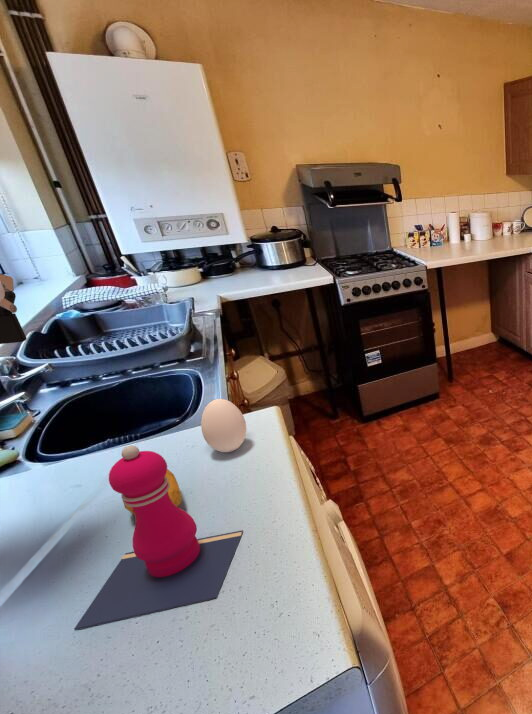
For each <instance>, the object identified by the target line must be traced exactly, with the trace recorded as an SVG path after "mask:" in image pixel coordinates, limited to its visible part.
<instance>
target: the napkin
mask: <svg viewBox="0 0 532 714" xmlns="http://www.w3.org/2000/svg"><path fill="white" fill-rule="evenodd" d="M243 533H244V530H243V529H241V530H237V531H236V530H235V531H231V532H226V533H221V534H217V535H210V536H207V537H201V538H197V540H198V543H199V545H200V552H199V554H198V556H197V558H196V559H195V560H194V561H193V562H192V563H191V564H190V565H189V566H187V567H186V568H185V569H183V570H181V571H179V572H178V573H175V574H173V575H170V576H166V577H154V576H152V575H150V573H149V572H148V570H147V567H146V565H145V561H143V560H140V559H138V558H137V556H136V555H135V553H134V551H130V552H126V553H124V554H123V555H122V557H121V559H120V560H119V562H118V564H117V565H116V567H115V568H114V569H113V571H112V573H111V574H110V575H109V577H108V578H107V580H106V581H105V583H104V584H103V585H102V587H101V589H100V590H99V592H98V593H97V595H95V597H94V598H93V600H92V601H91V604H90V605H89V606H88V608H87V609H86V611H85V612H84V613H83V615H82V617H81V618H80V619H79V621H78V622H77V623H76V625H75V627H74V628H73V629H74V631H78V630H79V631H80V630H83V629H88V628H92V627H96V626H101V625H105V624H109V623H114V622H119V621H123V620H127V619H131V618H135V617H140V616H145V615H151V614H153V613H157V612H159V613H160V612H162V611H167V610H171V609H176V608H180V607H181V608H182V607H186V606H190V605H194V604H198V603H201V602H202V603H203V602H207V601H211V600H216V599H217V598H218V596H219V594H220V591H221V589H222V586H223V583H224V582H225V580H226V579H225V578H226V576H227V575H228V574H227V573H228V570H229V569H230V567H231V566H230V565H231V563H232V561H233V558H234V555H235V553H236V551H237V548H238V546H239V543H240V541H241V538H242V535H243Z"/></svg>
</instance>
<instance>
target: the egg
mask: <svg viewBox="0 0 532 714" xmlns="http://www.w3.org/2000/svg"><path fill="white" fill-rule="evenodd" d="M200 428H201V433H202V436H203V439H204V441H205V442H206V444H207V445H208V446H209V447H210V448H212V449H213V450H215V451H217V452H220V453H231V452H234V451H235V450H237V449H238V448H240V446H241V445H242V444H243V442H244V441H245V439H246V435H247V422H246V419H245V417H244V414H243V413H242V411H241V409H239V408H238V406H237V405H235V404H234V403H233V402H232V401H230V400H228V399H224V398H216V399H213V400H211V401H210V402H209V403H208V404H207V405H206V406H205V408H204V409H203V412H202V415H201V421H200Z"/></svg>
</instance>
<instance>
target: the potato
mask: <svg viewBox="0 0 532 714" xmlns="http://www.w3.org/2000/svg"><path fill="white" fill-rule="evenodd" d="M165 477H167V479H168V482H169V484H170V488H169V490H168V494H169V497H170V499H171V501H172V502H173V503H174V504H175V505H176V506H177V507H179V505H180V504H181V503H182V497H183V496H182V492H181V490H180V486H179V483H178V480H177V478H176V476H175V474H174V473H173V471H171V470H170V469H168V468H167V473H166V475H165ZM122 503H123V506H124V508H125V510H127V511H129V512H130V513H131V514H133V515H134V516H135V513H134V510H133V509H132V507H128V506H126V505H125V504H124V500H123V499H122Z"/></svg>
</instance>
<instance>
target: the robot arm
mask: <svg viewBox="0 0 532 714" xmlns="http://www.w3.org/2000/svg"><path fill="white" fill-rule="evenodd" d="M14 290H15V289H14V278H13V277H12V276H10V275H7V274H2V273H0V345H5V344H15V343H24V342H25V341H27V339H28V337H27V336H26V334H25V331H24V329H23V327H22V325H21V322H20V321H19V318H18V316H17V315H16V313H17V311H18V307H17V305H16V304H15V301H16V297H17V295H16V293H15V292H14Z"/></svg>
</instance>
